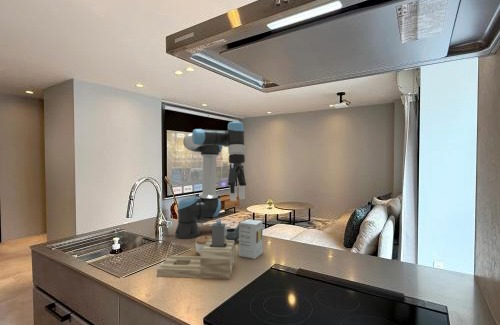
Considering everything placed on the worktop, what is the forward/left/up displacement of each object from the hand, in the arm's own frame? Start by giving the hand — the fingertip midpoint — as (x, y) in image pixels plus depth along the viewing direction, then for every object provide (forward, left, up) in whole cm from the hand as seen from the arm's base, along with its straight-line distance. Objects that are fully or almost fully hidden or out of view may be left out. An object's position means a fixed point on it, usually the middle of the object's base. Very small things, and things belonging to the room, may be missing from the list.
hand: (237, 200), depth 119 cm
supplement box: (-12, +6, -30) cm, 32 cm away
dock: (+8, -16, -29) cm, 35 cm away
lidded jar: (-11, -17, -30) cm, 36 cm away
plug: (+8, -7, -21) cm, 24 cm away
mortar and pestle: (-31, -5, -30) cm, 43 cm away
